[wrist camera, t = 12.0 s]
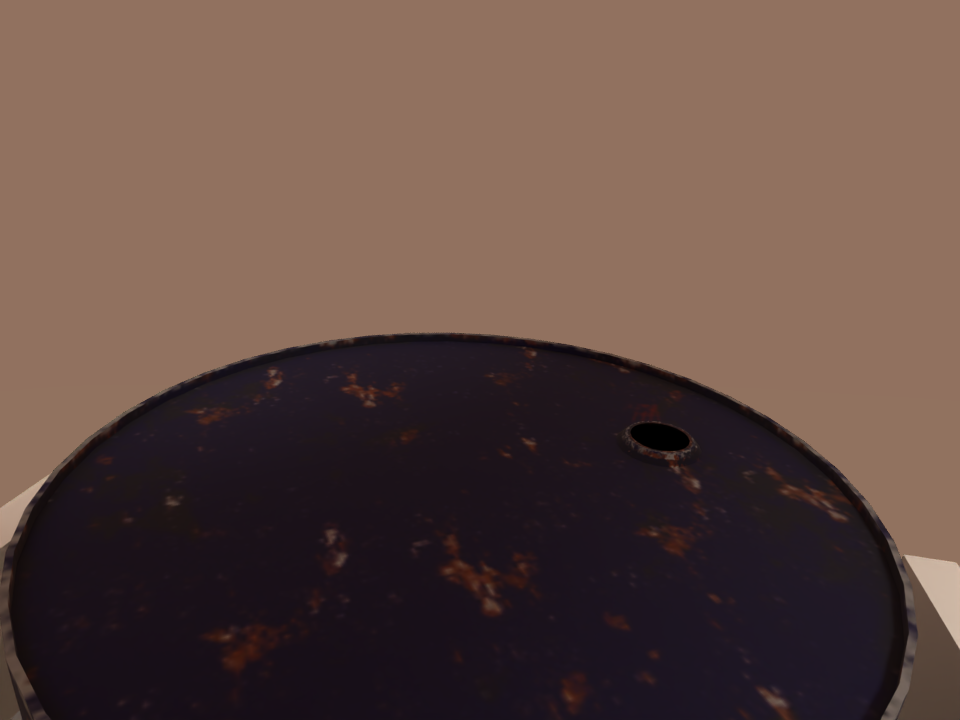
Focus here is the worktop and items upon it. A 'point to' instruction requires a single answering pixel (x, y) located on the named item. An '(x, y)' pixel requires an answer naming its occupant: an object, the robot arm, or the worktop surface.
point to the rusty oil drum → (452, 550)
